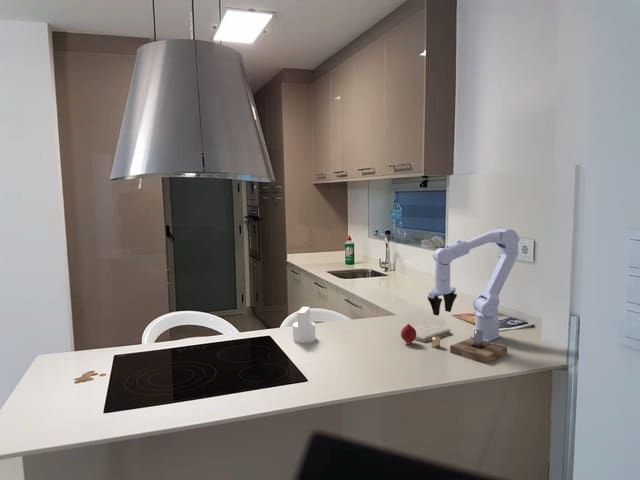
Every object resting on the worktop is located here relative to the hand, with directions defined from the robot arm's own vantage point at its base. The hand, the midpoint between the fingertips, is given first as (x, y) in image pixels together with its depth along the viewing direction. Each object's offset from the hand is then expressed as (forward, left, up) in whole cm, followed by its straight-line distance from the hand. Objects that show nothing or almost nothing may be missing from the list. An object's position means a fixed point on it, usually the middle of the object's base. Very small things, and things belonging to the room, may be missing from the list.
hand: (442, 313), depth 175 cm
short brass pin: (+9, +4, -10) cm, 14 cm away
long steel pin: (+3, +18, -10) cm, 21 cm away
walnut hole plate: (+3, +18, -10) cm, 21 cm away
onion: (+14, -5, -11) cm, 18 cm away
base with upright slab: (+41, -36, -11) cm, 56 cm away
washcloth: (0, -7, -11) cm, 13 cm away
